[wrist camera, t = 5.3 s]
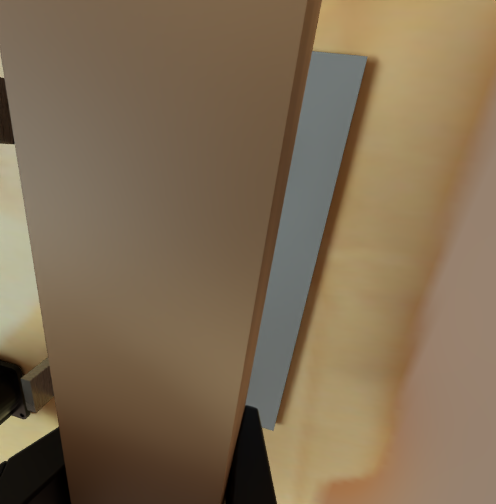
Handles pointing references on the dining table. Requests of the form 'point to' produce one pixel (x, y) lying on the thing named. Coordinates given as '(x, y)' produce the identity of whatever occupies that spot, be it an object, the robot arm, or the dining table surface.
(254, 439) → the robot arm
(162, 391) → the rail
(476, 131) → the dining table surface
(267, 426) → the mat
